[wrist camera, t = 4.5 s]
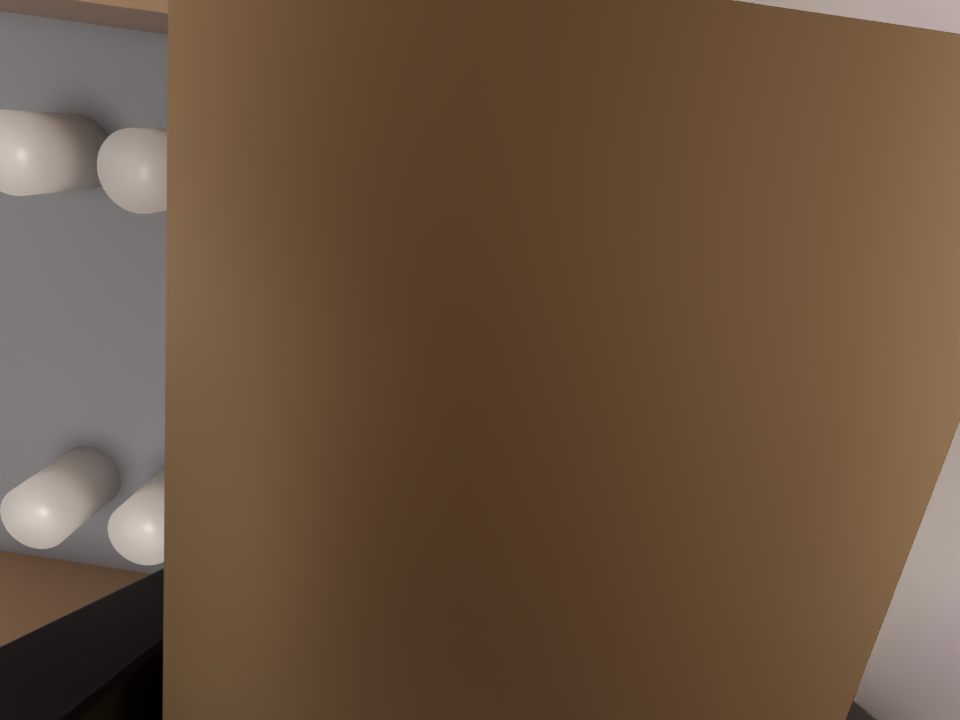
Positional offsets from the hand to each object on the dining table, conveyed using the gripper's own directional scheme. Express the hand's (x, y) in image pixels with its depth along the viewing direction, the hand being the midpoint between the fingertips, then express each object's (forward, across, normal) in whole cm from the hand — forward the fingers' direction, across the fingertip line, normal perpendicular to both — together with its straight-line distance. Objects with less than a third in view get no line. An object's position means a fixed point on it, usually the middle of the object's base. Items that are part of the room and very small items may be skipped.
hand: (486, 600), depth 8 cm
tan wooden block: (+1, 0, 0) cm, 1 cm away
